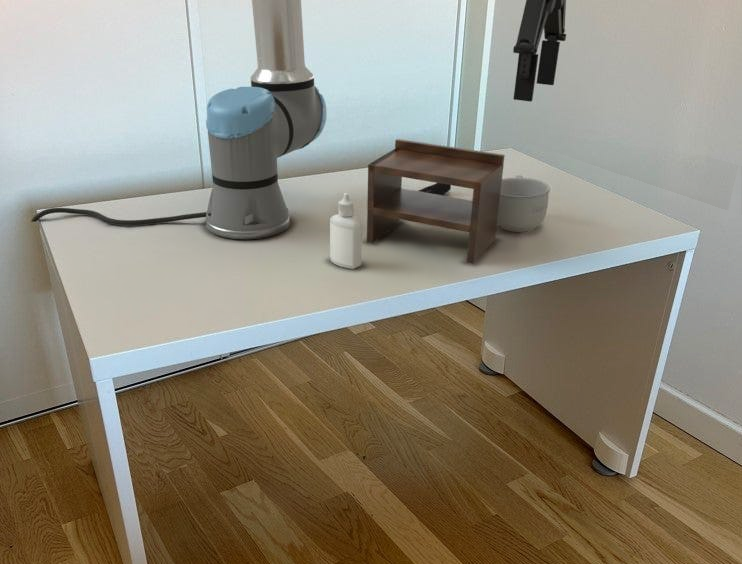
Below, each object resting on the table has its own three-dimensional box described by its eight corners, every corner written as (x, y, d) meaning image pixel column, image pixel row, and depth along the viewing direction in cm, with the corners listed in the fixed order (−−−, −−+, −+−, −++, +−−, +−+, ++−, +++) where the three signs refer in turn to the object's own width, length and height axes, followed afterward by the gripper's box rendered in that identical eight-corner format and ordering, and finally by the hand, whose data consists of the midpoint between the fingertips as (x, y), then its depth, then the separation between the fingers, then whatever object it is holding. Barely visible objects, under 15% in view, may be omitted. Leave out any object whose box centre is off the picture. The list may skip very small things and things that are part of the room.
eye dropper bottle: (338, 271, 123) (338, 200, 117) (328, 258, 128) (327, 189, 121) (363, 268, 125) (365, 198, 118) (352, 255, 129) (352, 187, 123)
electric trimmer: (455, 195, 158) (456, 180, 156) (412, 213, 147) (413, 197, 145) (440, 191, 160) (441, 176, 158) (397, 209, 149) (397, 193, 147)
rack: (366, 242, 134) (368, 155, 126) (394, 221, 143) (397, 138, 135) (473, 264, 127) (482, 173, 119) (495, 240, 136) (504, 154, 128)
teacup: (539, 240, 137) (545, 197, 132) (480, 232, 139) (485, 190, 135) (549, 215, 148) (555, 175, 144) (495, 208, 151) (499, 168, 147)
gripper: (561, -61, 96) (537, 110, 107) (598, -65, 116) (575, 80, 127) (504, -63, 99) (487, 104, 110) (550, -67, 118) (531, 75, 129)
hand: (534, 92), depth 118 cm, fingers open, 13 cm apart
